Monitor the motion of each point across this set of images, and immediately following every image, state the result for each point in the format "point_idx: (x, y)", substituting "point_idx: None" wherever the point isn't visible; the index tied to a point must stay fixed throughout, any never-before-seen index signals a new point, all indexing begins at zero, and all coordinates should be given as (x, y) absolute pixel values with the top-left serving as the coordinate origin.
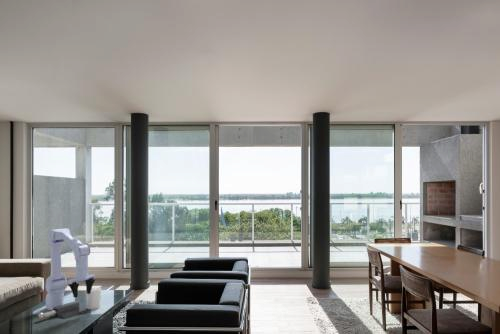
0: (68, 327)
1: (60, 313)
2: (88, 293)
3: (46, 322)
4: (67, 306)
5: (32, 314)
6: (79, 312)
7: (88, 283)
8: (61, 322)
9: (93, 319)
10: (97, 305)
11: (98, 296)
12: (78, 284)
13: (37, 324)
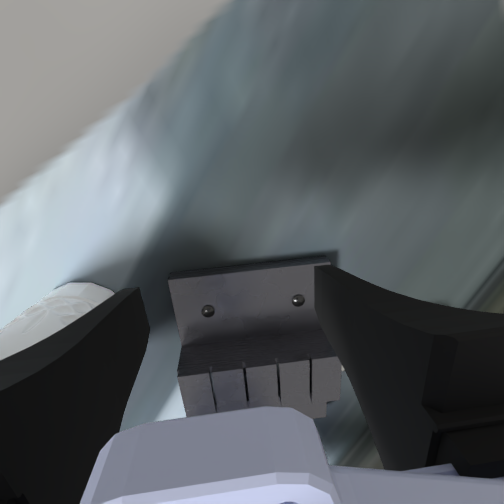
0: (460, 15)
1: (312, 332)
2: (141, 302)
3: (415, 279)
4: (270, 359)
5: (344, 454)
6: (222, 270)
7: (80, 425)
8: (389, 194)
9: (247, 13)
10: (66, 290)
11: (13, 330)
12: (447, 330)
13: (454, 287)
